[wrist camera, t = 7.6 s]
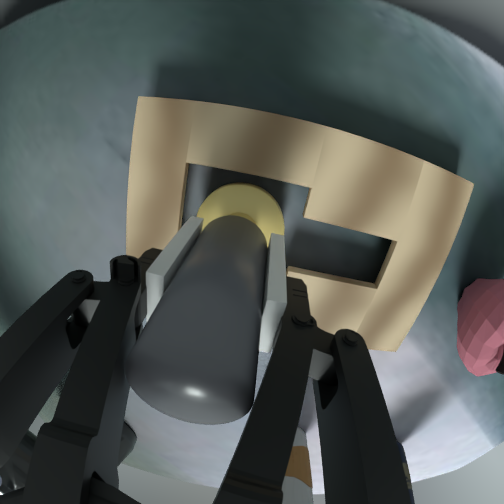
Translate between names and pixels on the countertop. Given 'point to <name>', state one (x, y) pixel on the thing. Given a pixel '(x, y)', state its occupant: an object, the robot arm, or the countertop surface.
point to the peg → (211, 314)
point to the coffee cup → (298, 473)
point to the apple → (482, 327)
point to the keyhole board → (317, 203)
